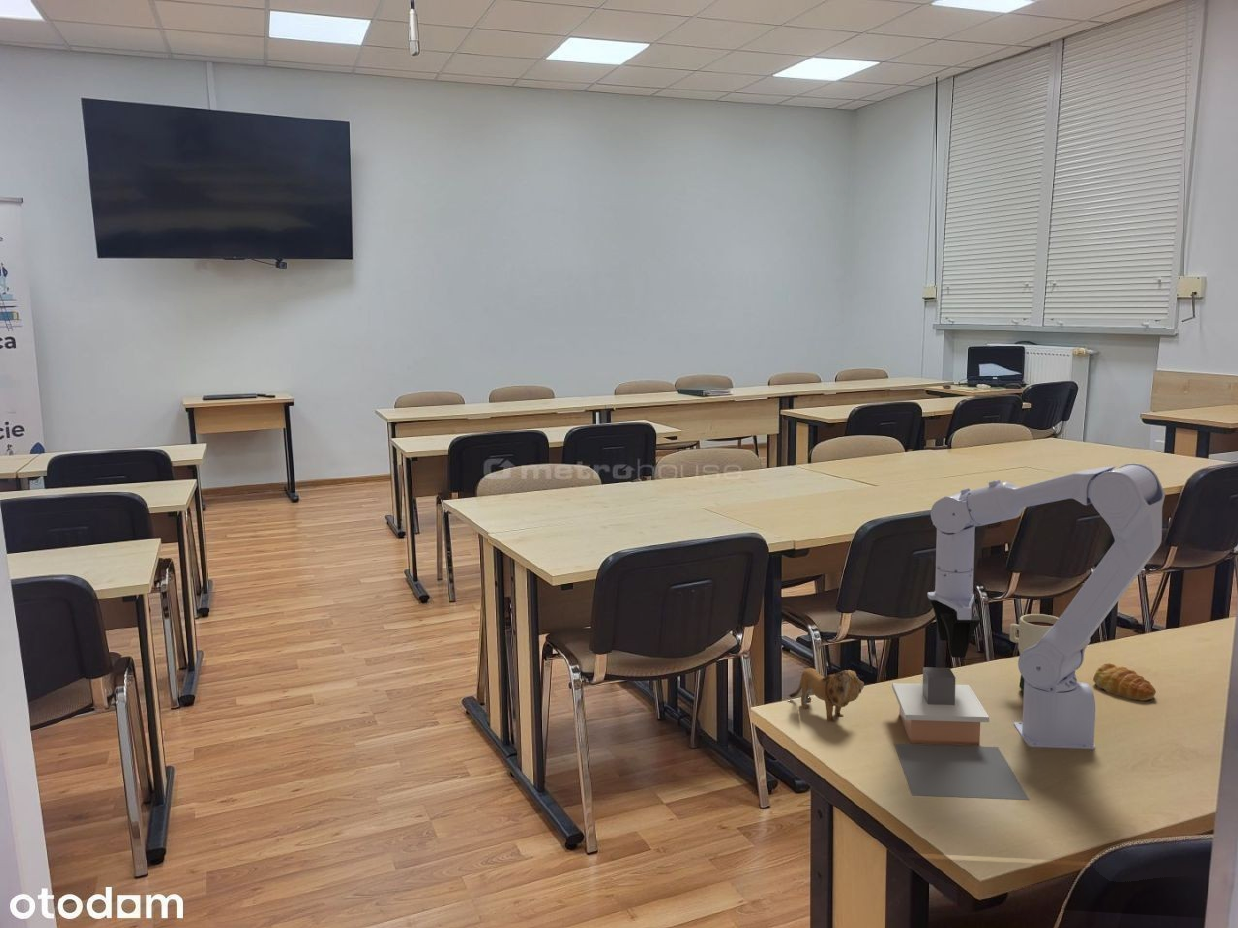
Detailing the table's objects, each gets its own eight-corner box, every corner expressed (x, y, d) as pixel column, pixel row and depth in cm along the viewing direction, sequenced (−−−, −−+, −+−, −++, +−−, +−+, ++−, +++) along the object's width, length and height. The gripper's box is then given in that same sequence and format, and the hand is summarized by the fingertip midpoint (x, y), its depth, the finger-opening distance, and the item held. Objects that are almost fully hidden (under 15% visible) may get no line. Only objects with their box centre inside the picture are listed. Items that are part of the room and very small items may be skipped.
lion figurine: (868, 723, 143) (869, 670, 142) (847, 733, 140) (847, 679, 139) (799, 695, 155) (799, 645, 153) (778, 703, 152) (777, 653, 150)
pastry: (1165, 698, 149) (1166, 676, 149) (1138, 707, 147) (1139, 685, 146) (1114, 679, 158) (1115, 658, 157) (1087, 687, 155) (1088, 666, 154)
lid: (968, 689, 144) (969, 659, 143) (988, 722, 132) (990, 689, 131) (892, 687, 145) (892, 657, 145) (905, 719, 134) (905, 687, 133)
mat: (997, 749, 133) (997, 747, 133) (1029, 802, 118) (1029, 799, 118) (894, 746, 135) (894, 743, 135) (912, 797, 120) (912, 795, 120)
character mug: (1081, 696, 151) (1085, 622, 149) (1063, 709, 146) (1067, 633, 144) (1017, 678, 159) (1019, 608, 157) (998, 690, 154) (1001, 618, 152)
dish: (963, 718, 144) (964, 692, 143) (979, 747, 134) (980, 719, 133) (899, 716, 145) (899, 690, 144) (910, 745, 135) (911, 717, 135)
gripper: (919, 556, 151) (918, 632, 154) (938, 580, 137) (936, 664, 139) (963, 556, 150) (960, 633, 153) (986, 580, 136) (983, 665, 138)
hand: (952, 648), depth 146 cm, fingers open, 7 cm apart
